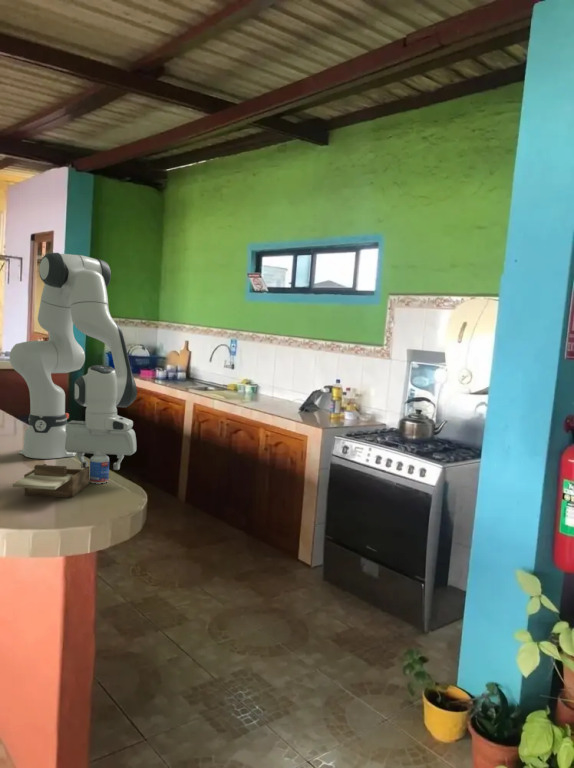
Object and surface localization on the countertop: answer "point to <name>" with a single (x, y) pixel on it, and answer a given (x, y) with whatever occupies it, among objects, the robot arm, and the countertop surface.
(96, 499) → the countertop surface
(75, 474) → the lid box
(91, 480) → the pill bottle
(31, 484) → the lid
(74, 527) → the countertop surface
